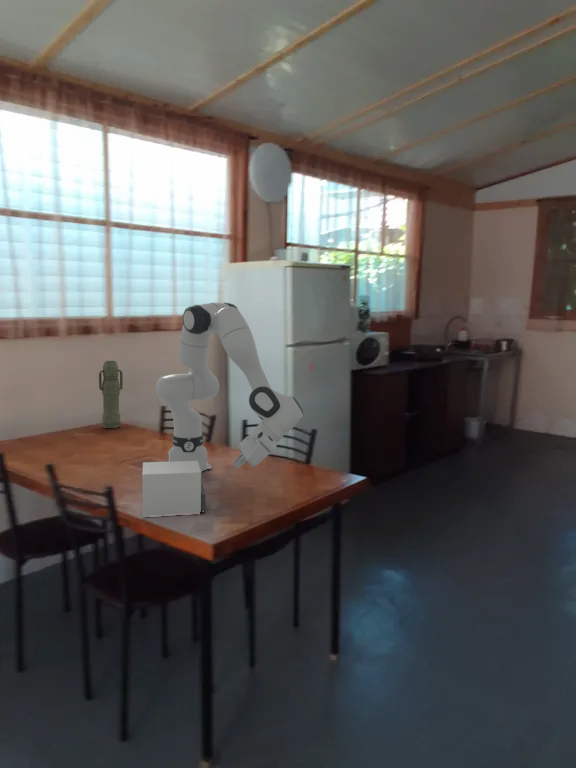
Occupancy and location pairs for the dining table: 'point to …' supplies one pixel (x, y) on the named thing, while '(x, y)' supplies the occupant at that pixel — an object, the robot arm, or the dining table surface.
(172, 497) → the grey box
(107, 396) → the thermos
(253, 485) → the dining table surface
